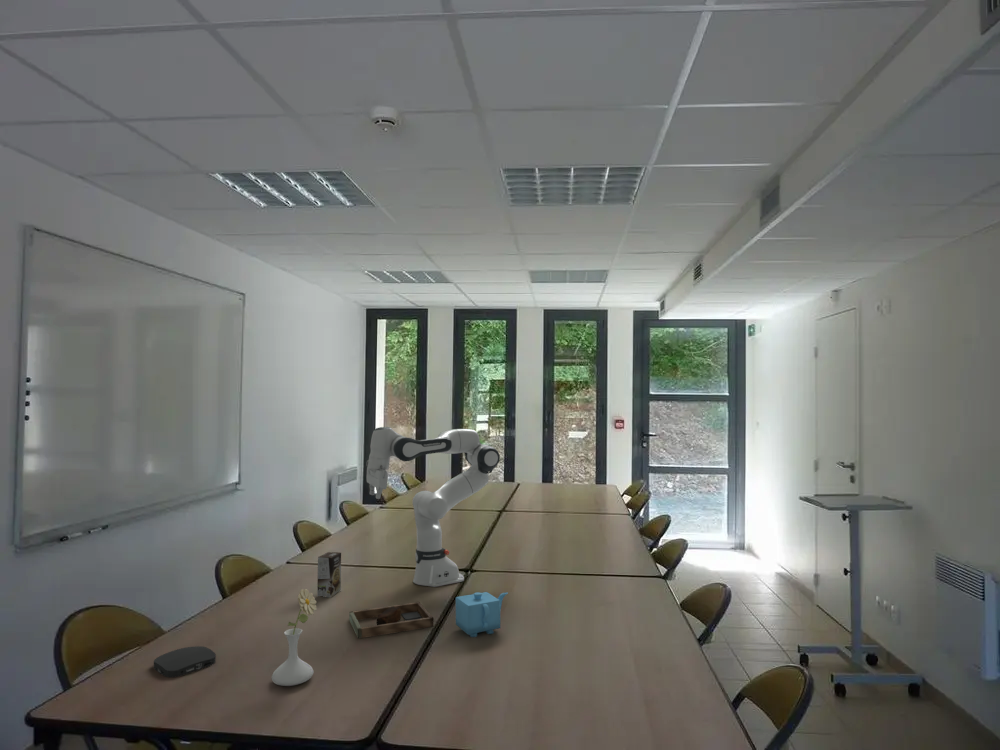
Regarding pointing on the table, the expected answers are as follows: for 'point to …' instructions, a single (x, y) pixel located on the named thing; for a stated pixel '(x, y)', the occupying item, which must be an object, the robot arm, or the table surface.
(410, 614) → the trap pits
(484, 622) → the teapot
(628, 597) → the table surface
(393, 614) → the brick
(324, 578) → the coffee box
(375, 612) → the box
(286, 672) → the flower in vase
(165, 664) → the media streaming box
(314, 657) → the table surface
